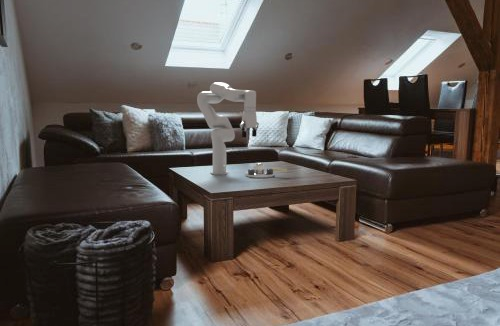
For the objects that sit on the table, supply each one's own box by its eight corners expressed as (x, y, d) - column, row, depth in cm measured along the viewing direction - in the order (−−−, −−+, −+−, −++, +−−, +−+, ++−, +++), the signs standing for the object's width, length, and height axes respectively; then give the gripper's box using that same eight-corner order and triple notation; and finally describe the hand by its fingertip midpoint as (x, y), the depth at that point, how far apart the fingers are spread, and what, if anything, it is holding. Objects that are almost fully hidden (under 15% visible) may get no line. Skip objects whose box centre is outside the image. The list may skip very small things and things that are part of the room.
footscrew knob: (265, 174, 274) (266, 168, 273) (267, 173, 278) (267, 167, 277) (285, 175, 269) (285, 169, 269) (287, 174, 274) (287, 168, 273)
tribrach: (242, 173, 285) (242, 160, 284) (269, 172, 289) (269, 160, 288) (248, 178, 266) (248, 165, 264) (277, 177, 270) (277, 164, 268)
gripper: (254, 109, 265) (253, 135, 267) (236, 110, 252) (235, 137, 255) (263, 110, 260) (262, 136, 263) (245, 110, 247) (244, 138, 250)
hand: (249, 136), depth 259 cm, fingers open, 9 cm apart
